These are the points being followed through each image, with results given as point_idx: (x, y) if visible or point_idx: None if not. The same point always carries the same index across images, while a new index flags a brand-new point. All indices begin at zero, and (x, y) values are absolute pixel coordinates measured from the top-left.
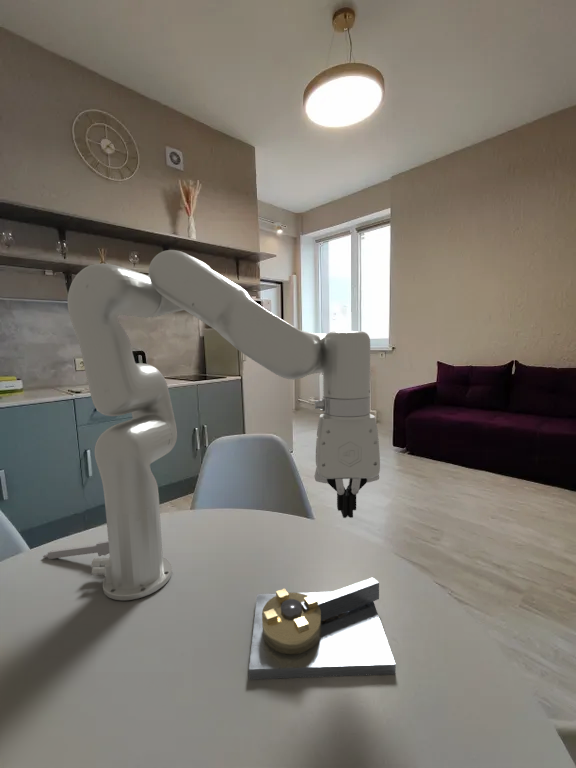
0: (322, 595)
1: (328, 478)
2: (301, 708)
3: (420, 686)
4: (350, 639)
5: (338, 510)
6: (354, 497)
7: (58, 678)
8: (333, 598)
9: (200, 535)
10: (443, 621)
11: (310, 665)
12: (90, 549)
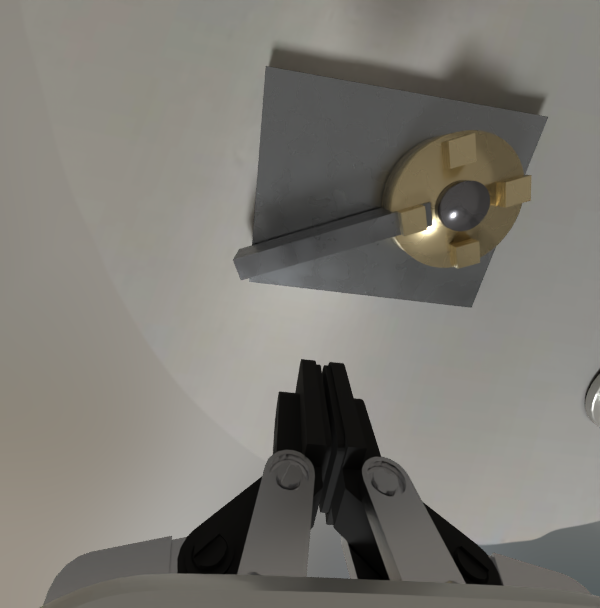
0: (377, 239)
1: (588, 596)
2: (465, 32)
3: (228, 31)
4: (334, 153)
5: (359, 399)
6: (288, 440)
7: None
8: (356, 225)
9: (510, 479)
10: (120, 188)
11: (433, 101)
12: None
